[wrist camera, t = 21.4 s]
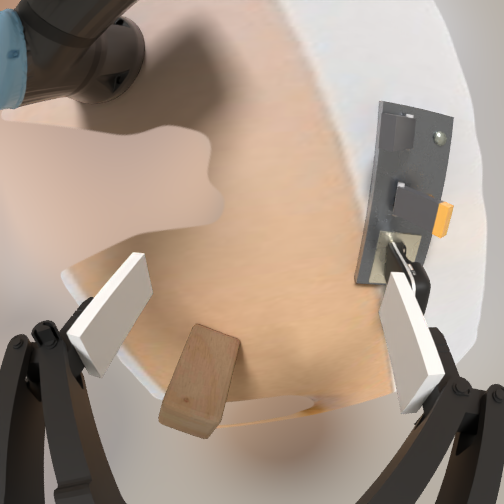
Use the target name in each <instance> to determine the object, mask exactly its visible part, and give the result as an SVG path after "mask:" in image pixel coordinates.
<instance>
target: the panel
mask: <svg viewBox="0 0 504 504" xmlns="http://www.w3.org/2000/svg"><path fill="white" fill-rule="evenodd" d="M381 113H386V114H393V115H400V116H405V117H406V114H410V115H414V117H413V118H415V119H416V125H415V135H414V144H413V148H412V149H410V151H409V150H401V151H395V152H391V151H388V150H384V149H379V148H378V146H379V136H380V125H381ZM453 119H454V117H450V116H447V115H443V114H439V113H435V112H431V111H427V110H423V109H419V108H414V107H410V106H405V105H400V104H395V103H390V102H384V101H379V112H378V125H377V137H376V147H375V156H374V165H373V173H372V181H371V188H370V195H369V201H368V208H367V214H366V220H365V226H364V231H363V237H362V242H361V247H360V252H359V257H358V262H357V267H356V271H355V276H354V277H355V281H356V283H361V284H378V285H387V283H386V281H385V278H384V277H385V266H386V256H387V245H388V243H391V242H400V243H403V244H405V246H406V257H407V258H408V260H410V261H412V262H419V263H421V265H422V266H423V264H424V261H425V258H426V254H427V251H428V248H429V244H430V241H431V237H432V233H430V232H428V231H427V230H425V229H423V228H421V227H419V226H417V225H414V224H412V223H410V222H408V221H406V220H404V219H402V218H400V217H394V216H393V215H392V214H393V208H394V203H395V198H396V192H397V186H398V182H402V183H405V186H407V187H410V188H412V189H415V190H417V191H420V192H422V193H425V194H427V195H429V196H432V197H434V198H436V199H439V200H441V196H442V192H443V187H444V181H445V176H446V171H447V165H448V159H449V152H450V145H451V137H452V129H453Z"/></svg>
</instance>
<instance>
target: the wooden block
mask: <svg viewBox="0 0 504 504" xmlns="http://www.w3.org/2000/svg"><path fill="white" fill-rule="evenodd" d="M239 345H240V343H239V340H238V339H237V338H234V337H231V336H228V335H226V334H223V333H220V332H218V331H215V330H212V329H210V328H207V327H204V326H202V325H199V324H196V325H195V326H194V327H193V328H192V330H191V333H190V335H189V337H188V340H187V342H186V345H185V347H184V349H183V352H182V354H181V357H180V359H179V362H178V364H177V367H176V369H175V371H174V374H173V376H172V379H171V381H170V384H169V386H168V389H167V391H166V394H165V396H164V399H163V402H162V405H161V410H160V413H159V417H158V418H159V422H160V423H161V424H163V425H166V426H168V427H171V428H174V429H176V430H179V431H182V432H185V433H188V434H190V435H193V436H196V437H200V438H203V439H208V437H209V436H210V435H211V434H212V432H213V431H214V430H215V429H216V427H217V426H218V425H219V423H220V422H221V420H222V415H223V411H224V407H225V403H226V399H227V395H228V391H229V387H230V383H231V379H232V375H233V370H234V366H235V362H236V358H237V354H238V350H239Z"/></svg>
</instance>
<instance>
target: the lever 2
mask: <svg viewBox="0 0 504 504" xmlns="http://www.w3.org/2000/svg"><path fill="white" fill-rule="evenodd" d="M453 207H454V206H453V205H451V204H449V203H447V202H443V201H441V200H439V199H436V198H434V197H432V196H429V195H427V194H425V193H422V192H420V191H417V190H415V189H412V188H410V187H407V186H405V183H402V182H398V186H397V192H396V198H395V203H394V208H393V214H392V215H393V216H394V217H400V218H402V219H404V220H406V221H408V222H410V223H412V224H414V225H417V226H419V227H421V228H423V229H425V230H427V231H428V232H430V233H432V234H433V235H435V236H437V237H439V238H442V237H444V236H445V235H446V234H447V230H448V226H449V223H450V219H451V215H452V211H453Z"/></svg>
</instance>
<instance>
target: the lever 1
mask: <svg viewBox="0 0 504 504" xmlns="http://www.w3.org/2000/svg"><path fill="white" fill-rule="evenodd" d="M413 117H414V115H410V114H406V117H405V116H400V115H393V114H386V113H381V125H380V136H379V146H378V148H379V149H384V150H388V151H391V152H395V151H401V150H409V151H410V149H412V148H413V144H414V135H415V125H416V119H415V118H413Z"/></svg>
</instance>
